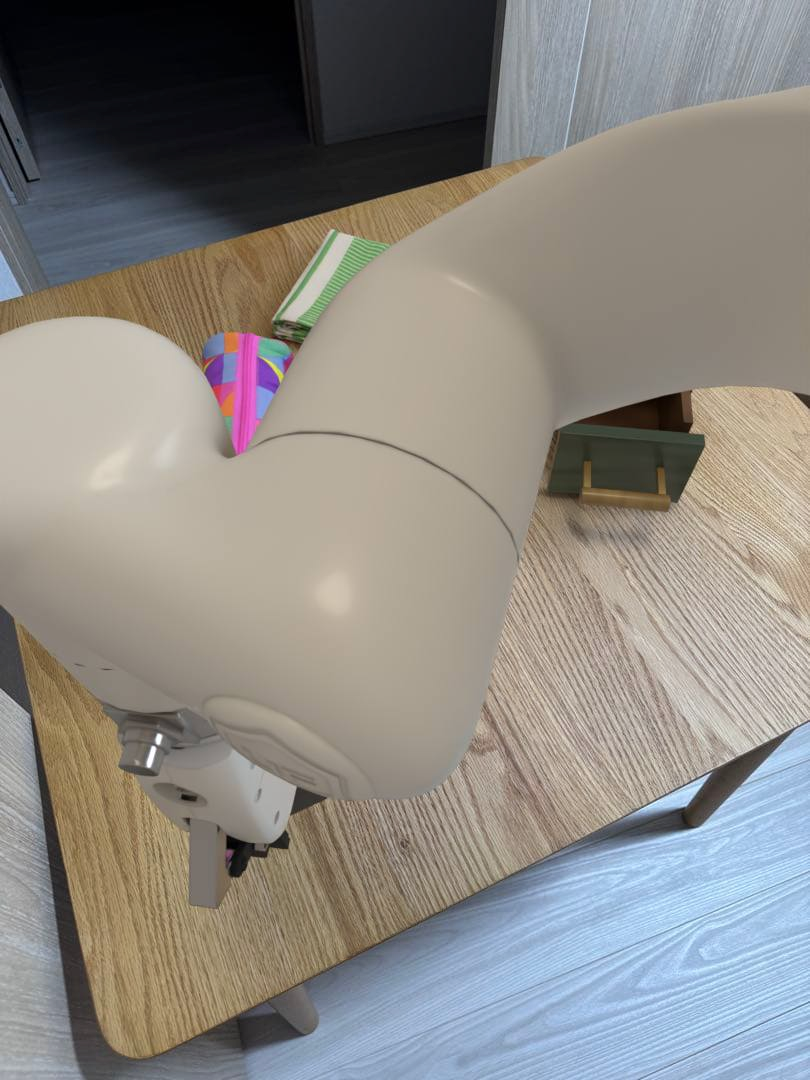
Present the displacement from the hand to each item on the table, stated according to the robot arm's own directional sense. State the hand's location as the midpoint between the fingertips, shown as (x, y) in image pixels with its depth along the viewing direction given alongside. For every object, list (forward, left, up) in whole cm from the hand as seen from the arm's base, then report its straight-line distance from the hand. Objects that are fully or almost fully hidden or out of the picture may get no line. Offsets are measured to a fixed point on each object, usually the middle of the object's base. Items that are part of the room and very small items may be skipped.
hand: (275, 775), depth 42 cm
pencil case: (+11, -30, -12) cm, 34 cm away
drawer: (-22, -35, -11) cm, 43 cm away
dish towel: (0, -54, -12) cm, 55 cm away
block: (0, 0, -1) cm, 1 cm away
